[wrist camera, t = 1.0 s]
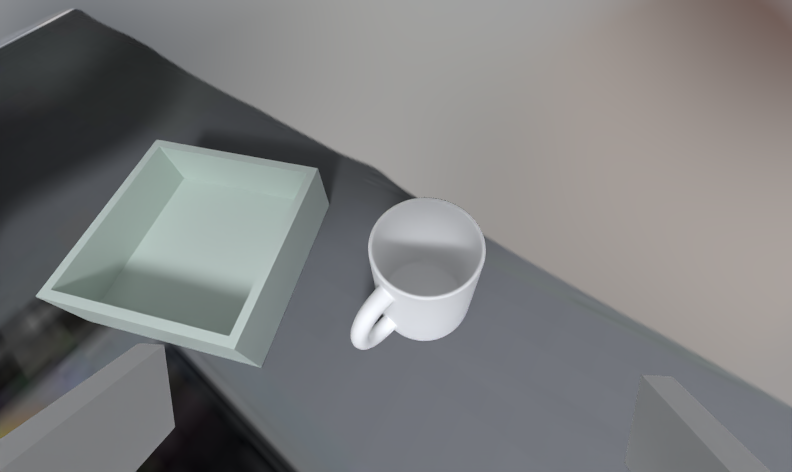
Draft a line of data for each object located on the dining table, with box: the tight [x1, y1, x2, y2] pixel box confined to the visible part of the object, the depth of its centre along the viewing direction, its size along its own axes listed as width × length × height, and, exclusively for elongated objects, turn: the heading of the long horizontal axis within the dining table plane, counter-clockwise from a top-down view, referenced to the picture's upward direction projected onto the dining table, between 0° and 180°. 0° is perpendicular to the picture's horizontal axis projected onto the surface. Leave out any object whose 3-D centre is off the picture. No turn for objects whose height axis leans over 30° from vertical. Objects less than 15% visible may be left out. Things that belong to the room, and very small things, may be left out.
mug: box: [351, 198, 486, 350], centre depth 31 cm, size 12×8×10 cm
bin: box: [36, 140, 329, 368], centre depth 37 cm, size 18×18×6 cm
